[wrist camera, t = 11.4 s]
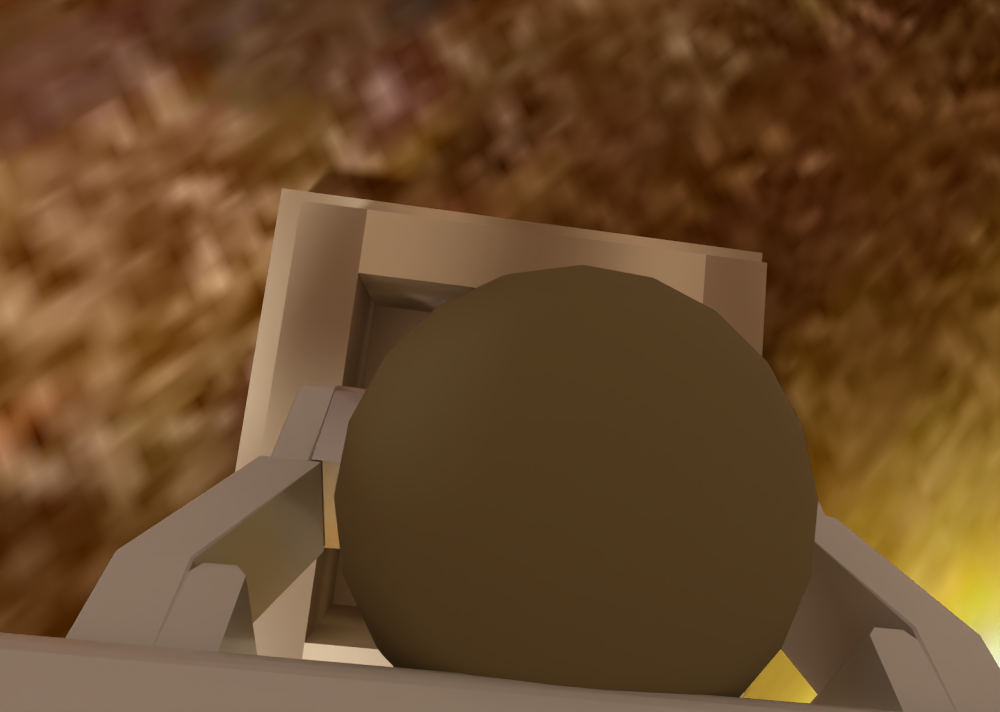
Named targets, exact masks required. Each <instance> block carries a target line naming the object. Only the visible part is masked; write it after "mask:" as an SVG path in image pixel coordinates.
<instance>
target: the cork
mask: <svg viewBox="0 0 1000 712" xmlns="http://www.w3.org/2000/svg"><path fill="white" fill-rule="evenodd" d="M334 503H335V511H336V520H337V529H338V537H339V546H340V554H341V563H342V571H343V576H344V578H345V580H346V582H347V585H348V587H349V589H350V591H351V593H352V595H353V598H354V600H355V602H356V604H357V606H358V608H359V610H360V613H361V615H362V617H363V619H364V621H365V623H366V626H367V628H368V630H369V632H370V634H371V636H372V639H373V641H374V643H375V645H376V647H377V648H378V650H379V651H380V652H381V654H382V655H383V656H384V657H385V658H386V659H387V660H388V661H389V662H390V664H391V665H392V666H393V667H397V668H409V669H420V670H431V671H443V672H454V673H462V674H468V675H475V676H483V677H491V678H501V679H509V680H517V681H525V682H533V683H541V684H548V685H558V686H568V687H579V688H589V689H600V690H613V691H632V692H650V693H671V694H694V695H715V696H727V697H738V698H739V697H740V696H741V695H742V694H743V693H744V691H745V690H746V689H747V688H748V687H749V685H750V684H751V683H752V682H753V681H754V680H755V678H756V677H757V676H758V675H759V674H760V673H761V671H762V670H763V669H764V668H765V667H766V666H767V664H768V663H769V662H770V661H771V660H772V658H773V657H774V656H775V655H776V654H777V653H778V651H779V650H780V649H781V648H782V646H783V644H784V641H785V639H786V636H787V634H788V632H789V629H790V627H791V624H792V622H793V619H794V617H795V615H796V612H797V610H798V607H799V605H800V603H801V600H802V598H803V595H804V593H805V590H806V588H807V586H808V583H809V581H810V578H811V574H812V563H813V552H814V541H815V530H816V519H817V508H818V498H817V493H816V488H815V483H814V478H813V474H812V469H811V464H810V459H809V454H808V449H807V444H806V440H805V435H804V430H803V427H802V425H801V423H800V421H799V419H798V417H797V415H796V414H795V412H794V410H793V408H792V406H791V404H790V402H789V401H788V399H787V397H786V395H785V393H784V391H783V389H782V388H781V386H780V384H779V382H778V380H777V378H776V376H775V375H774V373H773V371H772V369H771V367H770V365H769V363H768V362H767V361H766V360H765V359H764V358H763V357H762V356H761V355H760V354H759V353H758V352H757V351H756V350H755V349H754V348H753V347H752V346H751V345H750V344H749V343H748V342H747V341H746V340H745V339H744V338H743V337H742V336H741V335H740V334H739V333H738V332H737V331H736V330H735V329H734V328H733V327H732V326H731V325H730V324H729V323H728V322H727V321H726V320H725V319H724V318H723V317H722V316H721V315H720V314H719V313H718V312H717V311H715V310H713V309H711V308H710V307H708V306H706V305H704V304H702V303H700V302H698V301H696V300H694V299H693V298H691V297H689V296H687V295H685V294H683V293H681V292H679V291H677V290H676V289H674V288H672V287H670V286H668V285H666V284H664V283H662V282H660V281H659V280H657V279H655V278H652V277H647V276H642V275H636V274H631V273H625V272H620V271H615V270H609V269H604V268H599V267H593V266H588V265H576V266H568V267H560V268H552V269H544V270H536V271H528V272H520V273H512V274H507V275H503V276H501V277H498V278H496V279H494V280H492V281H490V282H488V283H486V284H484V285H481V286H479V287H477V288H475V289H473V290H471V291H469V292H466V293H464V294H462V295H460V296H458V297H456V298H454V299H451V300H449V301H447V302H445V303H443V304H441V305H439V306H438V307H437V308H435V309H434V310H433V311H432V312H431V313H430V314H429V315H428V316H427V317H426V318H425V319H424V320H423V321H422V322H420V323H419V324H418V325H417V326H416V327H415V328H414V329H413V330H412V331H411V332H410V333H409V334H408V335H407V336H405V337H404V338H403V339H402V340H401V341H400V342H399V343H398V344H397V345H396V346H395V347H394V348H393V349H392V350H390V351H389V352H388V353H387V354H386V355H385V357H384V359H383V360H382V362H381V364H380V366H379V368H378V369H377V371H376V373H375V375H374V377H373V378H372V380H371V382H370V384H369V386H368V387H367V389H366V391H365V393H364V395H363V396H362V398H361V400H360V402H359V404H358V405H357V407H356V409H355V411H354V413H353V414H352V416H351V418H350V420H349V422H348V427H347V433H346V438H345V443H344V448H343V453H342V458H341V463H340V468H339V473H338V478H337V483H336V488H335V493H334Z"/></svg>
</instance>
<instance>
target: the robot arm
mask: <svg viewBox="0 0 1000 712" xmlns="http://www.w3.org/2000/svg"><path fill="white" fill-rule="evenodd" d="M365 391H366V389H362V388H354V387H347V386H340V385H338V386H335V385H328V384H321V383H314V382H307V381H305V382H304V383H303V384H302V385H301V386H300V387H299V388H298V391H297V393H296V396H295V398H294V401H293V403H292V406H291V408H290V410H289V413H288V415H287V418H286V420H285V423H284V425H283V427H282V430H281V432H280V435H279V437H278V440H277V442H276V445H275V447H274V449H273V452H272V454H271V456H259V457H257V458H256V459H254V460H253V461H251V462H250V463H248V464H247V465H245V466H244V467H242V468H241V469H239V470H238V471H236V472H235V473H233V474H232V475H230V476H229V477H227V478H226V479H224V480H223V481H221V482H220V483H218V484H217V485H215V486H214V487H212V488H210V489H209V490H207V491H206V492H204V493H203V494H201V495H200V496H198V497H197V498H195V499H194V500H192V501H191V502H189V503H188V504H186V505H185V506H183V507H182V508H180V509H179V510H177V511H176V512H174V513H173V514H171V515H170V516H168V517H167V518H165V519H164V520H162V521H160V522H159V523H157V524H156V525H154V526H153V527H151V528H150V529H148V530H147V531H145V532H144V533H142V534H141V535H139V536H138V537H136V538H135V539H133V540H132V541H130V542H129V543H127V544H126V545H124V546H123V547H121V548H120V549H118V550H117V551H116V552H115V554H114V555H113V557H112V559H111V560H110V562H109V564H108V566H107V567H106V569H105V571H104V573H103V574H102V576H101V578H100V579H99V581H98V583H97V585H96V586H95V588H94V590H93V591H92V593H91V595H90V597H89V598H88V600H87V602H86V604H85V605H84V607H83V609H82V610H81V612H80V614H79V616H78V617H77V619H76V621H75V622H74V624H73V626H72V628H71V629H70V631H69V633H68V634H67V636H66V638H56V637H45V636H33V635H22V634H11V633H0V712H1000V668H999V667H998V665H997V663H996V662H995V660H994V658H993V657H992V655H991V653H990V651H989V650H988V648H987V646H986V645H985V643H984V641H983V640H982V638H981V636H980V635H979V634H977V633H976V632H975V631H974V630H973V629H971V628H970V627H969V626H968V625H966V624H965V623H964V622H963V621H962V620H960V619H959V618H958V617H957V616H955V615H954V614H953V613H952V612H951V611H949V610H948V609H947V608H946V607H944V606H943V605H942V604H941V603H939V602H938V601H937V600H936V599H935V598H933V597H932V596H931V595H930V594H928V593H927V592H926V591H925V590H924V589H922V588H921V587H920V586H919V585H917V584H916V583H915V582H914V581H913V580H911V579H910V578H909V577H908V576H906V575H905V574H904V573H903V572H901V571H900V570H899V569H898V568H897V567H895V566H894V565H893V564H892V563H890V562H889V561H888V560H887V559H886V558H884V557H883V556H882V555H881V554H879V553H878V552H877V551H876V550H875V549H873V548H872V547H871V546H870V545H868V544H867V543H866V542H865V541H864V540H862V539H861V538H860V537H859V536H857V535H856V534H855V533H854V532H852V531H851V530H850V529H849V528H848V527H846V526H845V525H844V524H843V523H841V522H840V521H839V520H838V519H837V518H835V517H828V516H825V514H824V512H823V510H822V507H821V505H820V503H819V501H818V508H817V519H816V530H815V541H814V552H813V563H812V574H811V578H810V581H809V583H808V586H807V588H806V590H805V593H804V595H803V598H802V600H801V603H800V605H799V607H798V610H797V612H796V615H795V617H794V619H793V622H792V624H791V627H790V629H789V632H788V634H787V636H786V639H785V641H784V644H783V646H782V648H781V649H782V651H783V652H784V653H785V654H786V656H787V657H788V658H789V659H790V661H791V662H792V663H793V664H794V665H795V667H796V668H797V669H798V670H799V672H800V673H801V674H802V675H803V677H804V678H805V679H806V680H807V682H808V683H809V684H810V685H811V687H812V688H813V689H814V690H815V692H816V693H817V694H818V695H817V696H816V697H815V698H814V699H813V700H812V702H811V703H810V704H808V703H796V702H785V701H773V700H762V699H750V698H738V697H727V696H715V695H694V694H671V693H650V692H632V691H613V690H600V689H589V688H579V687H568V686H558V685H548V684H541V683H533V682H525V681H517V680H509V679H501V678H491V677H483V676H475V675H468V674H462V673H454V672H443V671H431V670H420V669H409V668H397V667H386V666H374V665H363V664H352V663H340V662H329V661H318V660H306V659H295V658H283V657H272V656H261V655H257V649H256V642H255V635H254V629H253V623H254V622H255V621H256V620H257V619H258V618H259V617H260V616H261V615H262V614H263V613H264V612H265V611H266V609H267V608H268V607H269V606H270V605H271V604H272V603H273V602H274V601H275V600H276V599H277V598H278V597H279V596H280V595H281V594H282V593H283V592H284V591H285V590H286V589H287V588H288V587H289V586H290V585H291V584H292V583H293V582H294V581H295V580H296V579H297V578H298V577H299V576H300V575H301V574H302V573H303V572H304V571H305V570H306V569H307V568H308V567H309V566H310V565H311V564H312V563H313V562H314V561H315V560H316V559H317V557H318V556H319V555H320V554H321V553H322V552H323V551H324V548H336V549H340V546H339V537H338V529H337V520H336V511H335V503H334V493H335V488H336V483H337V478H338V473H339V468H340V463H341V458H342V453H343V448H344V443H345V438H346V433H347V427H348V422H349V420H350V418H351V416H352V414H353V413H354V411H355V409H356V407H357V405H358V404H359V402H360V400H361V398H362V396H363V395H364V393H365Z"/></svg>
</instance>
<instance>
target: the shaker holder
mask: <svg viewBox="0 0 1000 712" xmlns="http://www.w3.org/2000/svg"><path fill="white" fill-rule="evenodd" d="M576 265H588V266H593V267H599V268H604V269H609V270H615V271H620V272H625V273H631V274H636V275H642V276H647V277H652V278H655V279H657V280H659V281H660V282H662V283H664V284H666V285H668V286H670V287H672V288H674V289H676V290H677V291H679V292H681V293H683V294H685V295H687V296H689V297H691V298H693V299H694V300H696V301H698V302H700V303H702V304H704V305H706V306H708V307H710V308H711V309H713V310H715V311H717V312H718V313H719V314H720V315H721V316H722V317H723V318H724V319H725V320H726V321H727V322H728V323H729V324H730V325H731V326H732V327H733V328H734V329H735V330H736V331H737V332H738V333H739V334H740V335H741V336H742V337H743V338H744V339H745V340H746V341H747V342H748V343H749V344H750V345H751V346H752V347H753V348H754V349H755V350H756V351H757V352H758V353H759V354H760V355H761V356H762V351H763V332H764V314H765V295H766V276H767V263H765V262H762V253H760V252H752V251H745V250H737V249H730V248H722V247H715V246H708V245H700V244H693V243H685V242H678V241H670V240H663V239H656V238H648V237H641V236H633V235H626V234H618V233H611V232H603V231H596V230H589V229H581V228H574V227H566V226H559V225H551V224H544V223H537V222H529V221H522V220H514V219H507V218H499V217H492V216H485V215H477V214H470V213H462V212H455V211H447V210H440V209H432V208H425V207H418V206H410V205H403V204H395V203H388V202H380V201H373V200H366V199H358V198H351V197H343V196H336V195H328V194H321V193H313V192H306V191H299V190H291V189H284V188H282V192H281V198H280V204H279V210H278V216H277V222H276V228H275V234H274V240H273V246H272V252H271V258H270V264H269V270H268V276H267V282H266V288H265V294H264V300H263V306H262V313H261V319H260V325H259V331H258V337H257V343H256V349H255V355H254V361H253V367H252V373H251V379H250V385H249V391H248V397H247V403H246V409H245V415H244V421H243V427H242V433H241V440H240V446H239V452H238V458H237V464H236V470H235V472H236V471H238V470H239V469H241V468H242V467H244V466H245V465H247V464H248V463H250V462H251V461H253V460H254V459H256V458H257V457H259V456H271V454H272V452H273V449H274V447H275V445H276V442H277V440H278V437H279V435H280V432H281V430H282V427H283V425H284V423H285V420H286V418H287V415H288V413H289V410H290V408H291V406H292V403H293V401H294V398H295V396H296V393H297V391H298V388H299V387H300V386H301V385H302V384H303V383H304V382H305V381H307V382H314V383H321V384H328V385H335V386H338V385H340V386H347V387H354V388H362V389H367V387H368V386H369V384H370V382H371V380H372V378H373V377H374V375H375V373H376V371H377V369H378V368H379V366H380V364H381V362H382V360H383V359H384V357H385V355H386V354H387V353H388V352H389V351H390V350H392V349H393V348H394V347H395V346H396V345H397V344H398V343H399V342H400V341H401V340H402V339H403V338H404V337H405V336H407V335H408V334H409V333H410V332H411V331H412V330H413V329H414V328H415V327H416V326H417V325H418V324H419V323H420V322H422V321H423V320H424V319H425V318H426V317H427V316H428V315H429V314H430V313H431V312H432V311H433V310H434V309H435V308H437V307H438V306H439V305H441V304H443V303H445V302H447V301H449V300H451V299H454V298H456V297H458V296H460V295H462V294H464V293H466V292H469V291H471V290H473V289H475V288H477V287H479V286H481V285H484V284H486V283H488V282H490V281H492V280H494V279H496V278H498V277H501V276H503V275H507V274H512V273H520V272H528V271H536V270H544V269H552V268H560V267H568V266H576ZM253 629H254V635H255V642H256V649H257V655H261V656H272V657H283V658H295V659H306V660H318V661H329V662H340V663H352V664H363V665H374V666H386V667H393V666H392V665H391V664H390V662H389V661H388V660H387V659H386V658H385V657H384V656H383V655H382V654H381V652H380V651H379V650H378V648H377V647H376V645H375V643H374V641H373V639H372V636H371V634H370V632H369V630H368V628H367V626H366V623H365V621H364V619H363V617H362V615H361V613H360V610H359V608H358V606H357V604H356V602H355V600H354V598H353V595H352V593H351V591H350V589H349V587H348V585H347V582H346V580H345V578H344V576H343V571H342V563H341V554H340V549H336V548H324V551H323V552H322V553H321V554H320V555H319V556H318V557H317V559H316V560H315V561H314V562H313V563H312V564H311V565H310V566H309V567H308V568H307V569H306V570H305V571H304V572H303V573H302V574H301V575H300V576H299V577H298V578H297V579H296V580H295V581H294V582H293V583H292V584H291V585H290V586H289V587H288V588H287V589H286V590H285V591H284V592H283V593H282V594H281V595H280V596H279V597H278V598H277V599H276V600H275V601H274V602H273V603H272V604H271V605H270V606H269V607H268V608H267V609H266V611H265V612H264V613H263V614H262V615H261V616H260V617H259V618H258V619H257V620H256V621H255V622H254V623H253ZM739 698H744V693H743V694H742V695H741V696H740V697H739Z"/></svg>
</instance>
